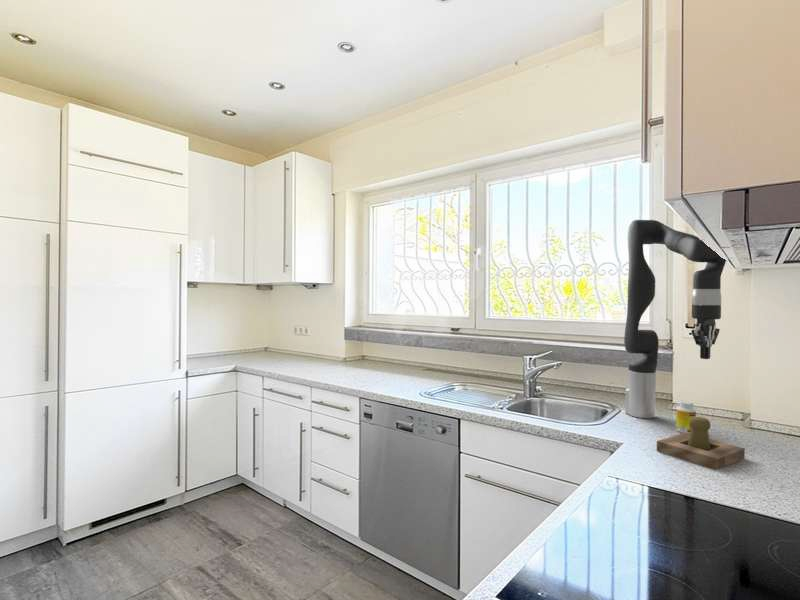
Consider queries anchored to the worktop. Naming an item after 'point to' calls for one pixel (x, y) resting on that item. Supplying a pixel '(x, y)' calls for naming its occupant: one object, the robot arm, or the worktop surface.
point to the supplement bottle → (684, 416)
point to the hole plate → (701, 451)
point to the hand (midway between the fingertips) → (705, 358)
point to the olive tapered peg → (699, 433)
